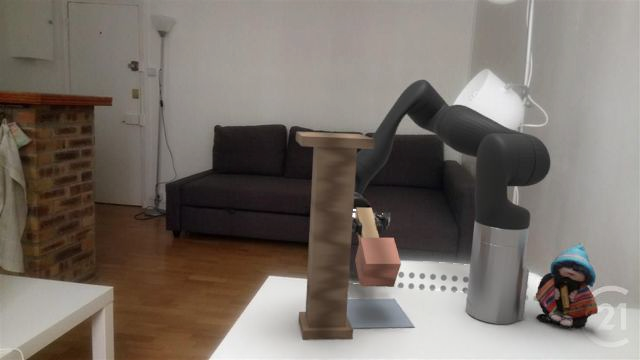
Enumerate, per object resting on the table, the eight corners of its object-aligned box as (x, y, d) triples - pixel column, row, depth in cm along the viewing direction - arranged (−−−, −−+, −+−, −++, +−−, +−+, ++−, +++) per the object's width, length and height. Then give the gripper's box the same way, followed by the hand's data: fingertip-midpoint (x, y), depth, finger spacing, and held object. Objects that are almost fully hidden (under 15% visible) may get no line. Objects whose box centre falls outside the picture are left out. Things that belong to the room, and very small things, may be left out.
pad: (394, 299, 96) (394, 298, 96) (414, 327, 84) (414, 326, 84) (338, 299, 94) (338, 298, 94) (351, 328, 83) (351, 327, 83)
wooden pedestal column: (348, 310, 90) (360, 134, 85) (361, 338, 79) (375, 139, 74) (288, 311, 88) (296, 131, 83) (293, 339, 78) (302, 136, 73)
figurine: (531, 326, 87) (541, 244, 85) (533, 311, 93) (543, 235, 91) (595, 340, 83) (608, 254, 80) (593, 324, 89) (605, 244, 87)
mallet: (376, 218, 100) (381, 196, 96) (393, 286, 87) (401, 263, 83) (346, 218, 99) (351, 195, 95) (360, 286, 86) (366, 263, 82)
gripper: (320, 192, 108) (333, 209, 91) (383, 193, 110) (407, 211, 93) (318, 225, 109) (331, 249, 92) (380, 226, 111) (404, 249, 94)
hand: (369, 230), depth 92 cm, fingers closed on mallet, 3 cm apart
